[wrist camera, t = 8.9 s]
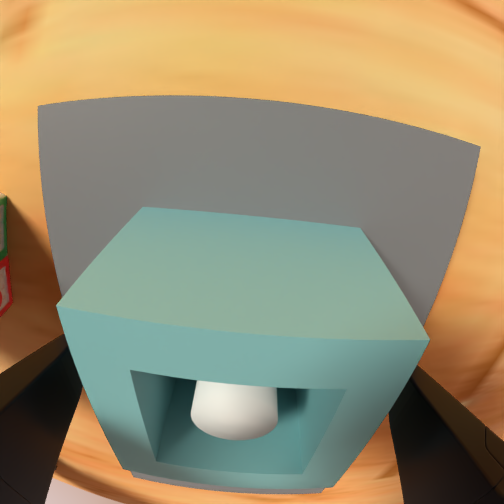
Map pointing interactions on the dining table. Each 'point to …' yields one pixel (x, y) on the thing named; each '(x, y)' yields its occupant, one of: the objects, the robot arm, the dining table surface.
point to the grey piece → (252, 197)
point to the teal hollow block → (240, 343)
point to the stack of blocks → (4, 260)
